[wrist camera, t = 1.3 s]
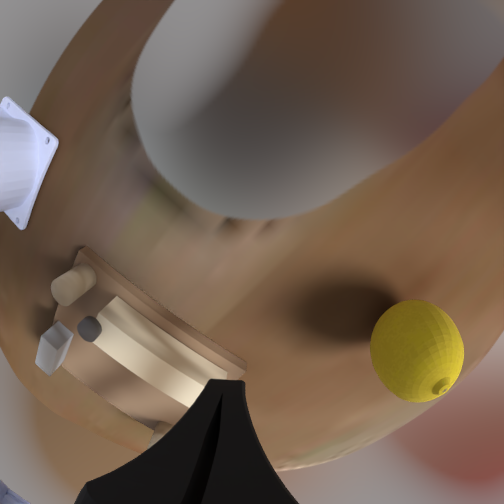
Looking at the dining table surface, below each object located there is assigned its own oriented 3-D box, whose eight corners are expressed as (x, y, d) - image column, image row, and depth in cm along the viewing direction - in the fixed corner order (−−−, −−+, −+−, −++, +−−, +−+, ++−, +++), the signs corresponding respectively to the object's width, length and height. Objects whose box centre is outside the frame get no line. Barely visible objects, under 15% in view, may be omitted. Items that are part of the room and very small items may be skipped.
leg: (96, 313, 18) (72, 337, 14) (108, 289, 17) (83, 311, 14) (208, 390, 19) (200, 423, 16) (227, 372, 18) (221, 405, 15)
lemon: (362, 359, 19) (396, 440, 11) (350, 297, 18) (395, 375, 10) (426, 333, 18) (477, 399, 11) (422, 270, 17) (492, 325, 9)
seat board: (50, 345, 21) (26, 368, 17) (86, 246, 18) (52, 263, 14) (171, 431, 22) (161, 462, 19) (247, 362, 19) (243, 401, 16)
